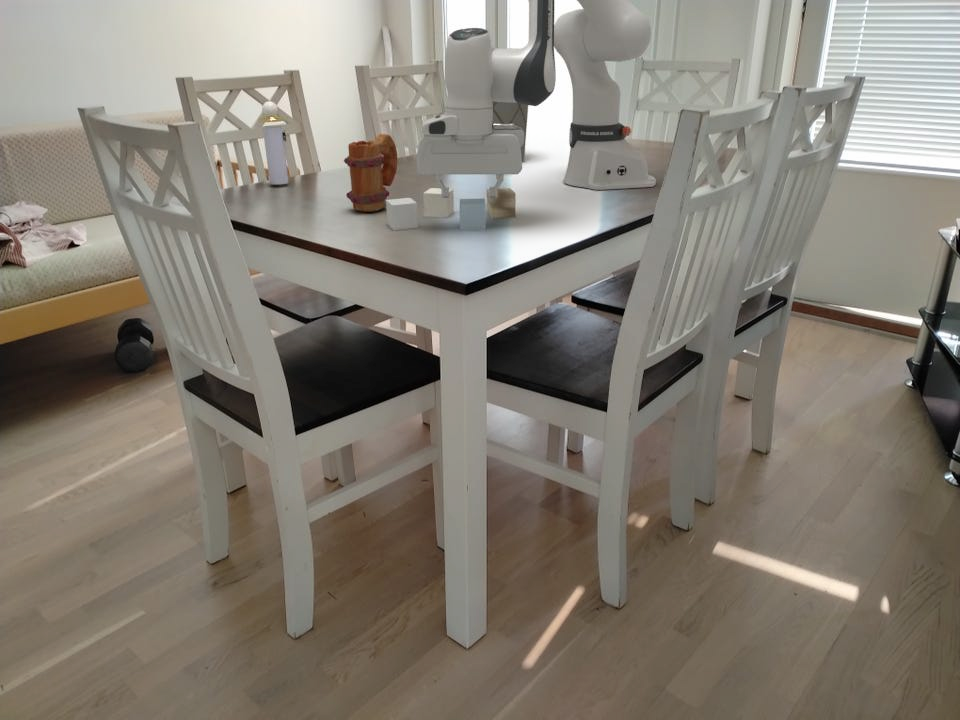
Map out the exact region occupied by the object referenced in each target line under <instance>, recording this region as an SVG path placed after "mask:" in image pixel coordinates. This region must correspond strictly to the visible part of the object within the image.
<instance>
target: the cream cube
mask: <svg viewBox="0 0 960 720" xmlns="http://www.w3.org/2000/svg"><path fill="white" fill-rule="evenodd" d="M422 196H423V215H424V216H423V217H425V218H443V219H444V218H446V219H448V218H449V217H450V216H452V215H453V214H454V212H455V208H454V207H455V206H454V203H455V202H454V189H453V188H449V198H442V197H441V189H440V187H439V188H436V187H434V188H433V187H431V188H430V187H429V188H428V189H427V190H425V191H424V192H423V194H422Z"/></svg>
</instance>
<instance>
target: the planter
mask: <svg viewBox="0 0 960 720" xmlns="http://www.w3.org/2000/svg"><path fill="white" fill-rule="evenodd" d="M492 103H493V123H502V124H510V123H514V124H517V126H520V127H521V128H522V129H523V131H524V144H523V146H522V147H521V156H522V160H524V159H525V154H526V139H527V127H528V126H527V125H528V124H527V123H528V116H529V115H528V112H529V105H524V104H519V103H510V102H495V101H492ZM504 130H510V129H504ZM515 130H520V129H519V128H517V129H515Z"/></svg>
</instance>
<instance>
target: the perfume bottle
mask: <svg viewBox="0 0 960 720" xmlns="http://www.w3.org/2000/svg"><path fill="white" fill-rule="evenodd" d="M261 111H262V113H263V115H264V116H263V117H258V121H259V122H260V123H277V122H282V121H284V120H285V119H284V117H283V116H277V115H278V112H279V107H278V106H277V104H276V103H275V102H274V101H271V100H269V101H265V102H264V103H263V105H262V107H261ZM262 133H263V141H264V148H265V149H264V150H265V155H266V164H267V170H268V178H269V184H270V185H284V184H285V185H286V184H288V183H289V182H290V181H289V174H288V173H289V172H288V165H287V158H286V157H287V155H286V149H285V142H287V135H286V130H285V129H284V130H283V126H282V125H266V126H262Z"/></svg>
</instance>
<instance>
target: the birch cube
mask: <svg viewBox="0 0 960 720" xmlns="http://www.w3.org/2000/svg"><path fill="white" fill-rule="evenodd" d="M516 195H517V194H516V192H515V191H514V190H513V189H512V188H511V187H503V188H499V189H498V197H497V198H490V188H486V213H487V215H489V217H490V218H491V219H500V218H501V219H502V218H516V200H517V199H516V197H517V196H516Z"/></svg>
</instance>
